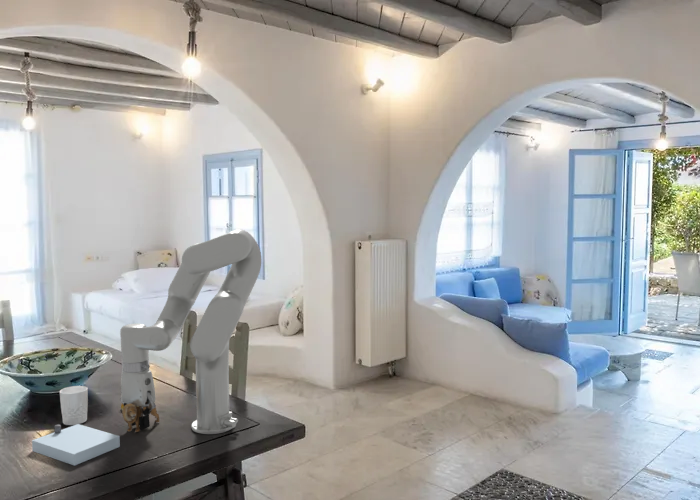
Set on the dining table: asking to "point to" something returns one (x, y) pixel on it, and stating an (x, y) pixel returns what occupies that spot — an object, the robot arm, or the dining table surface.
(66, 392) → the white cup
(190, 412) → the dining table surface
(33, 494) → the dining table surface
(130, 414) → the lion figurine
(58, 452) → the plinth
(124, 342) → the robot arm
